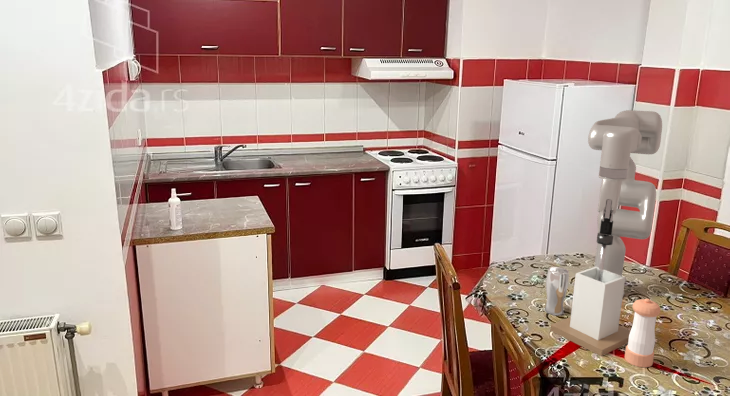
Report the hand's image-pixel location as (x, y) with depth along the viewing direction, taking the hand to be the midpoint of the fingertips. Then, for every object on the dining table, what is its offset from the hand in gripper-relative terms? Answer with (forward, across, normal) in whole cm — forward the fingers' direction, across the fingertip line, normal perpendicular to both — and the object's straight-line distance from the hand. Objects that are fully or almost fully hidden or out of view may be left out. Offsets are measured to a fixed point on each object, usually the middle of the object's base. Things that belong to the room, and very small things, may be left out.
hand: (605, 233), depth 164 cm
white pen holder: (+33, 0, 0) cm, 33 cm away
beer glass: (+34, -11, -13) cm, 38 cm away
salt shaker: (+34, +10, +13) cm, 37 cm away
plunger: (+20, 0, 0) cm, 20 cm away
